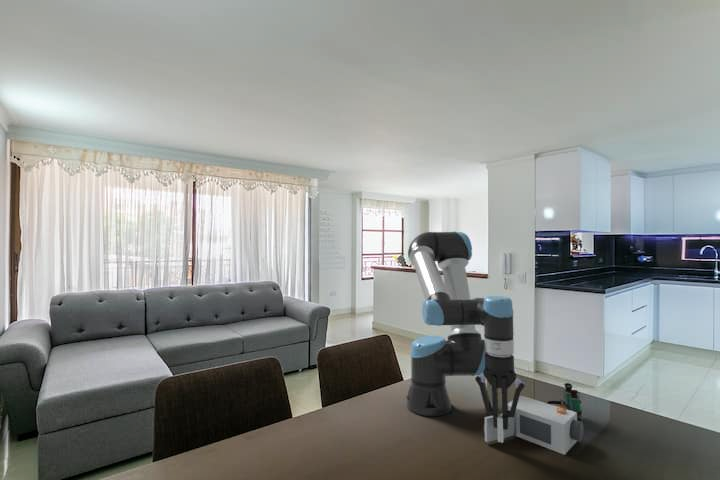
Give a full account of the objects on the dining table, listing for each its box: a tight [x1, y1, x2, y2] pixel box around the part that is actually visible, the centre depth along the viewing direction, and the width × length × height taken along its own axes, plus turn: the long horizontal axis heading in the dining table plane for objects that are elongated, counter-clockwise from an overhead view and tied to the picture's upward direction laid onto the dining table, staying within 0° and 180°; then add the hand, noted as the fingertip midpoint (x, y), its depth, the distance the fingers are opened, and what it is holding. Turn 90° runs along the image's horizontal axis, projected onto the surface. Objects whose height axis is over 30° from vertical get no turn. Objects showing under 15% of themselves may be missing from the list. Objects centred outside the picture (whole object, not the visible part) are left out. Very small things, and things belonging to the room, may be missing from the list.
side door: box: [483, 411, 516, 443], centre depth 103 cm, size 11×2×6 cm, turn 112°
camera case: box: [508, 394, 585, 456], centre depth 104 cm, size 18×10×9 cm, turn 42°
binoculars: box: [546, 382, 584, 424], centre depth 115 cm, size 9×11×10 cm
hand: (501, 439), depth 99 cm, fingers closed
